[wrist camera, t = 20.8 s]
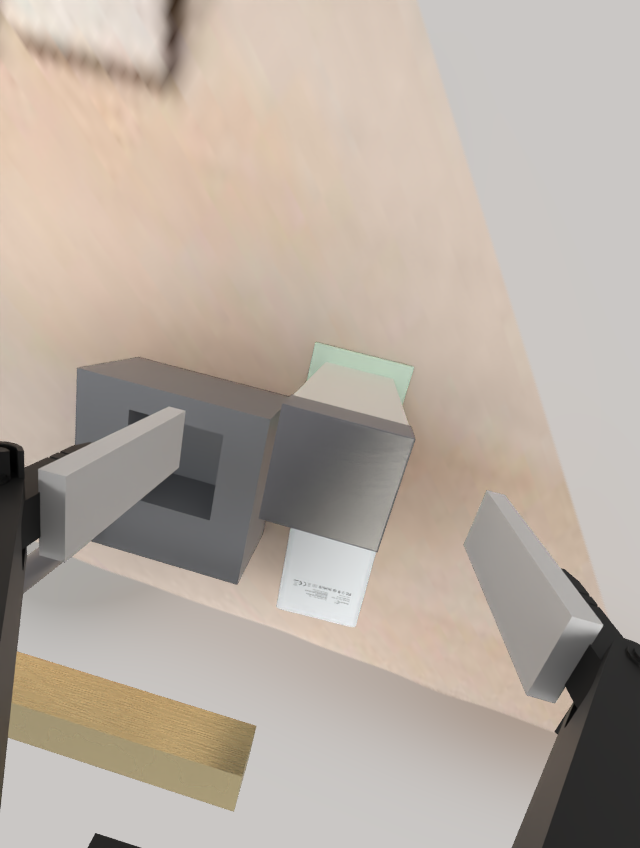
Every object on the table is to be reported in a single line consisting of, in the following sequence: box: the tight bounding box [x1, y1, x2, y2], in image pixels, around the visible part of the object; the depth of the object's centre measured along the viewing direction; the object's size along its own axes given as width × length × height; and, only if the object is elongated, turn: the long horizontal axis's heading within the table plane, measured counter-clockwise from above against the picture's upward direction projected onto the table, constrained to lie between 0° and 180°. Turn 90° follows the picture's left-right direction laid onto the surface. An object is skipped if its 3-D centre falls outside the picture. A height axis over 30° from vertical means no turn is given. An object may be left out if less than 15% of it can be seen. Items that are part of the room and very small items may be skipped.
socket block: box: [23, 357, 289, 594], centre depth 24 cm, size 14×14×20 cm
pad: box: [307, 342, 414, 405], centre depth 30 cm, size 8×8×1 cm
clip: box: [8, 652, 256, 811], centre depth 17 cm, size 19×4×4 cm, turn 77°
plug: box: [258, 362, 415, 552], centre depth 23 cm, size 6×6×15 cm
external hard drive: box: [276, 528, 376, 627], centre depth 35 cm, size 2×8×12 cm
